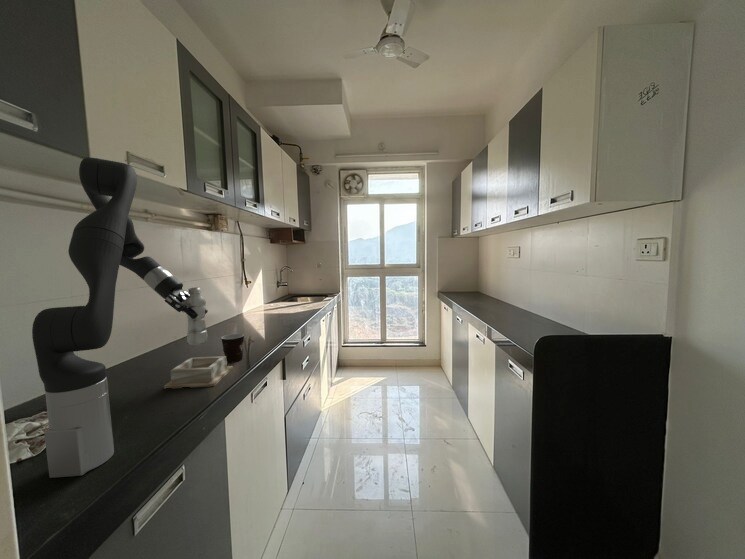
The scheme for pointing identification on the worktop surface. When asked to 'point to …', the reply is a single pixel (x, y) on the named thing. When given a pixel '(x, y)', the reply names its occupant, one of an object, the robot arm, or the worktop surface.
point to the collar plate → (199, 372)
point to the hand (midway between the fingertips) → (201, 315)
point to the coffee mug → (233, 347)
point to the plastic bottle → (196, 326)
